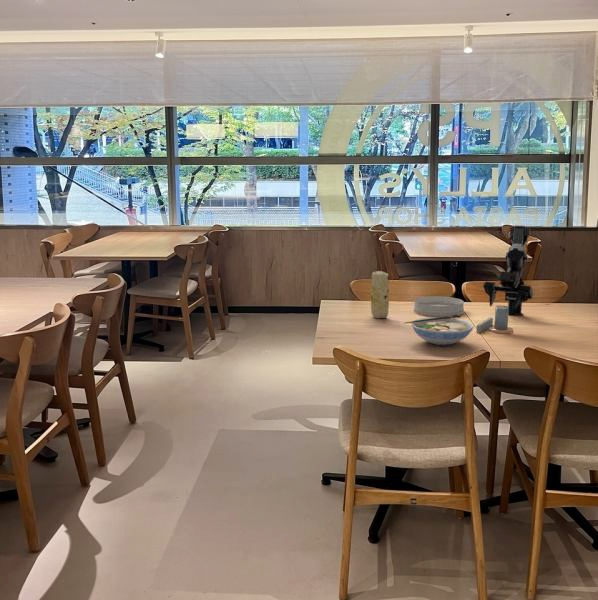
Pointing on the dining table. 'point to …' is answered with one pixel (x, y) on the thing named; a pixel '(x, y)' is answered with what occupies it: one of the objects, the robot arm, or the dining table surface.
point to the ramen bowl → (442, 329)
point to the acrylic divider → (484, 325)
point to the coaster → (500, 330)
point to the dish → (438, 306)
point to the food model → (379, 294)
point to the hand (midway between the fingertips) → (501, 307)
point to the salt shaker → (501, 317)
